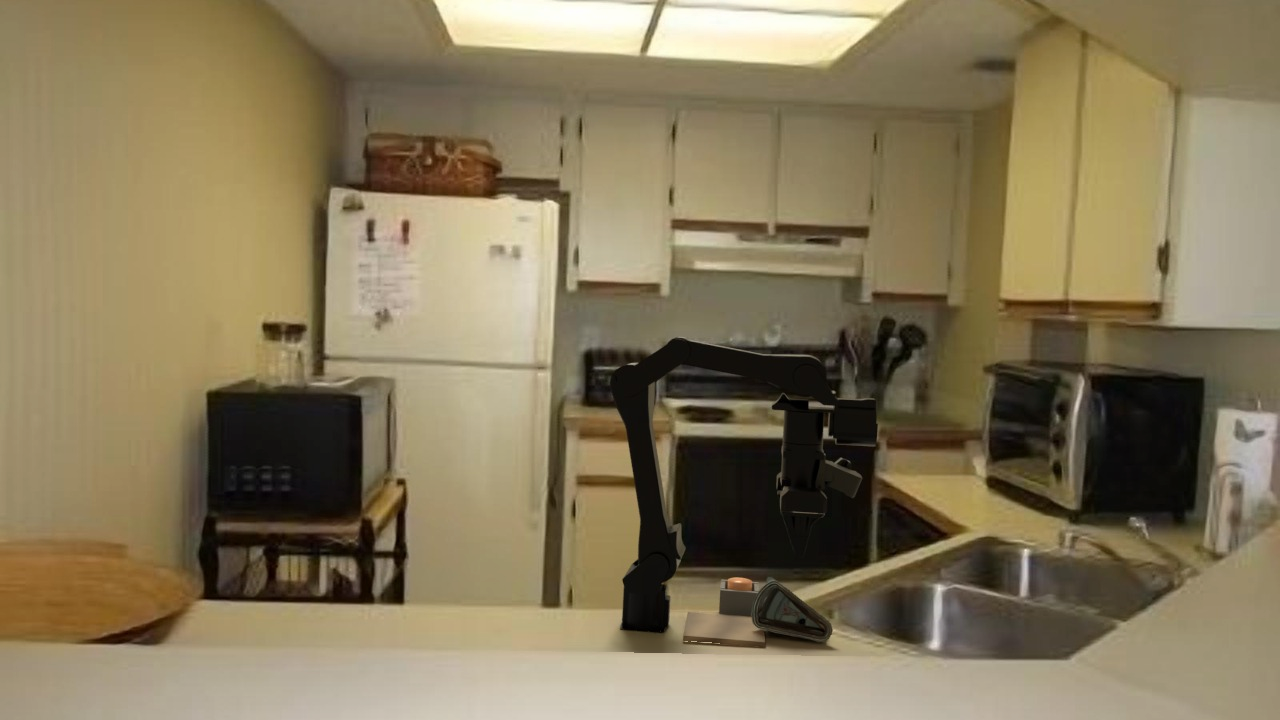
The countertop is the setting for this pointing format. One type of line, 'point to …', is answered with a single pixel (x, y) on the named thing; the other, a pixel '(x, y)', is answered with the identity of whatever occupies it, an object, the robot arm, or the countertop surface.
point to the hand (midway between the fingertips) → (797, 549)
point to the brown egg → (739, 584)
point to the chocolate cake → (788, 614)
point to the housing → (737, 600)
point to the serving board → (722, 629)
